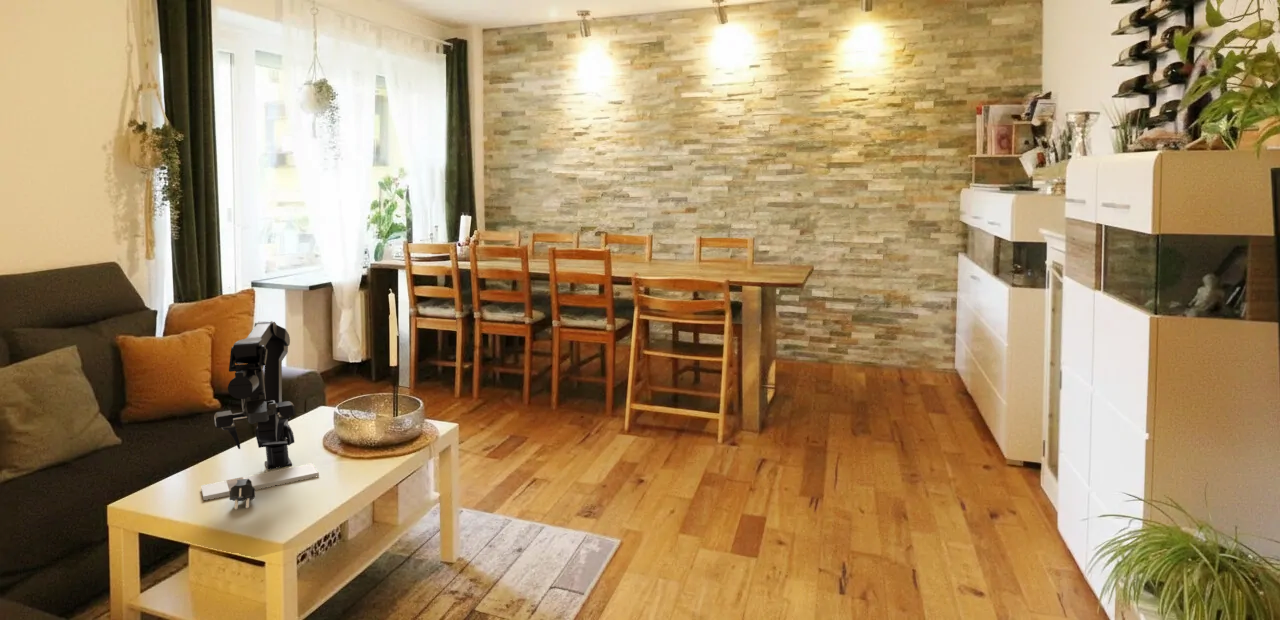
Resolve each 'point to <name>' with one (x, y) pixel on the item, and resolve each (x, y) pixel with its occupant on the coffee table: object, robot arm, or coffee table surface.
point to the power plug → (242, 492)
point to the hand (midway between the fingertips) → (258, 445)
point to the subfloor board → (261, 480)
